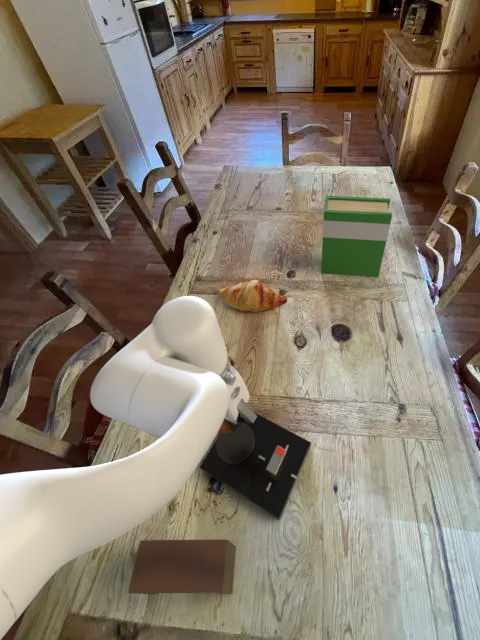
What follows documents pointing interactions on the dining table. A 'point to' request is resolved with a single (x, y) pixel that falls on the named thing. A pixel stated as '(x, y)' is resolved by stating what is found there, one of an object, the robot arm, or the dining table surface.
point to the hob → (262, 467)
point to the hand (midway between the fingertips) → (224, 415)
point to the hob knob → (277, 463)
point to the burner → (235, 445)
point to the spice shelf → (184, 567)
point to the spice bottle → (224, 427)
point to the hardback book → (354, 235)
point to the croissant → (251, 296)
